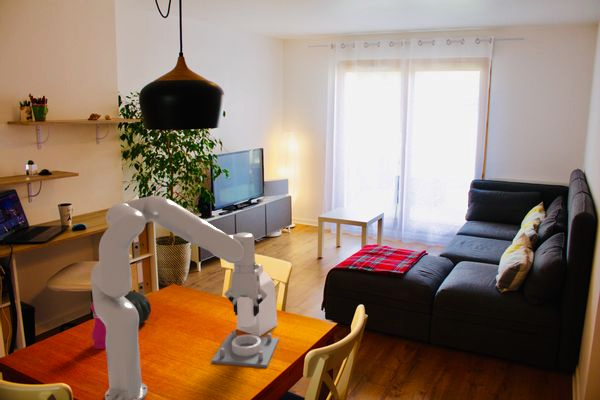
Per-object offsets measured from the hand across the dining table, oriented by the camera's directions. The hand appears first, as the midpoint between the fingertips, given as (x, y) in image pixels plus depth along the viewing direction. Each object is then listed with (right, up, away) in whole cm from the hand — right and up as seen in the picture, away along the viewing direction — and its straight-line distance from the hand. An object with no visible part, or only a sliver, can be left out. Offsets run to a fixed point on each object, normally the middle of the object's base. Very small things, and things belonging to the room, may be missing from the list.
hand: (246, 313), depth 183 cm
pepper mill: (-55, -14, +8) cm, 57 cm away
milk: (+2, -11, +22) cm, 25 cm away
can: (0, -4, +1) cm, 4 cm away
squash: (-50, -10, +27) cm, 57 cm away
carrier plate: (0, -14, +3) cm, 15 cm away
